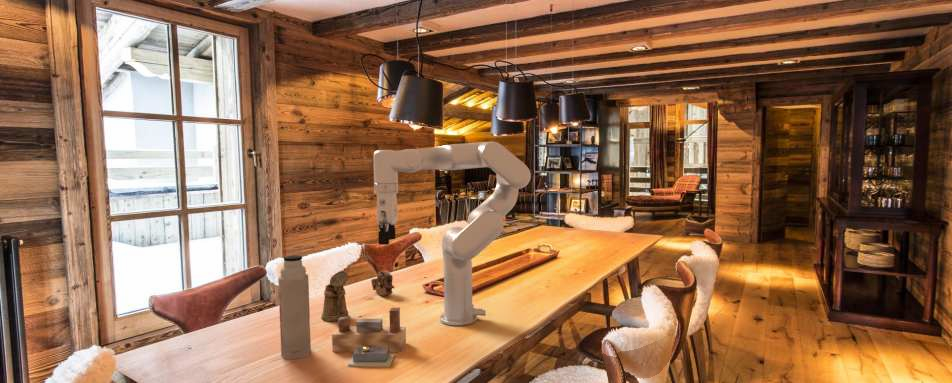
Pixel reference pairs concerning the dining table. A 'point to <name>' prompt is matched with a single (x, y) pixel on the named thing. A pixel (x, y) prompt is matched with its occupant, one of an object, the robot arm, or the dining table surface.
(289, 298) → the thermos bottle
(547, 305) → the dining table surface
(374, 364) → the felt mat
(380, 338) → the body
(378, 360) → the lever cap
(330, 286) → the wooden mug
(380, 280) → the wooden carving
